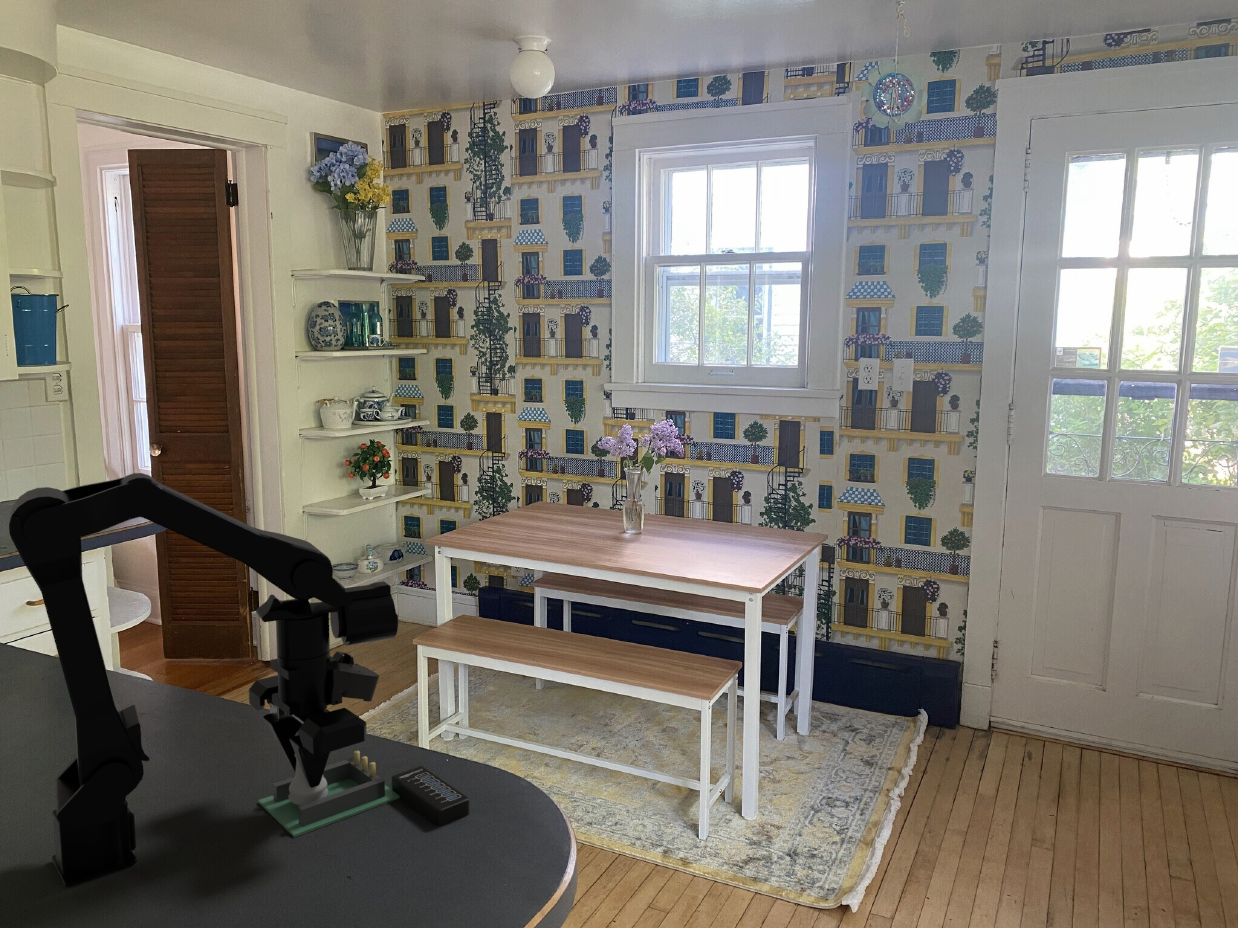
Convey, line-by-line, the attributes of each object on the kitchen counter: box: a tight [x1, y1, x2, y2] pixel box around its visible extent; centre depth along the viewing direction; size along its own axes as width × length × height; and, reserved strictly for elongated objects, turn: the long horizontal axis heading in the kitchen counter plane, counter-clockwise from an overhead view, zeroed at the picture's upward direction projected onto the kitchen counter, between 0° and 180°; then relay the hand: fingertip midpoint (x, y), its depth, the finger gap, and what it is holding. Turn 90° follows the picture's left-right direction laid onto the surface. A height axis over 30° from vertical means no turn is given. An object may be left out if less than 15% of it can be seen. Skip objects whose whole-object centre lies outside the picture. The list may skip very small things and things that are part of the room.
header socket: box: [257, 750, 400, 838], centre depth 107 cm, size 13×10×4 cm
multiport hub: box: [391, 765, 470, 827], centre depth 108 cm, size 4×11×2 cm, turn 43°
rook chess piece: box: [288, 731, 328, 806], centre depth 105 cm, size 4×4×8 cm
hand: (307, 779), depth 105 cm, fingers closed on rook chess piece, 3 cm apart
